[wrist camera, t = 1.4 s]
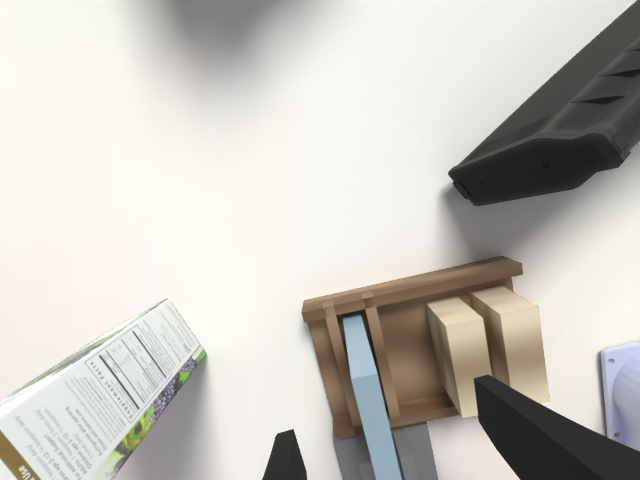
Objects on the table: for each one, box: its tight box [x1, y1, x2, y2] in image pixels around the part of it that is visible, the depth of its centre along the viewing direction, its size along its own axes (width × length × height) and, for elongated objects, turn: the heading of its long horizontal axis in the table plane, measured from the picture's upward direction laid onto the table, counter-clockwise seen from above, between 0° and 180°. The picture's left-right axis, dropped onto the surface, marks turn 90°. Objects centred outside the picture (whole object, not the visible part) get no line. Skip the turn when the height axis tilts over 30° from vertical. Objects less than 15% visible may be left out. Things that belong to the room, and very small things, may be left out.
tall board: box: [342, 311, 402, 480], centre depth 20 cm, size 8×1×8 cm, turn 14°
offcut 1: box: [425, 296, 492, 419], centre depth 22 cm, size 7×2×4 cm, turn 14°
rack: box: [302, 256, 523, 439], centre depth 24 cm, size 11×16×2 cm
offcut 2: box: [470, 286, 550, 403], centre depth 22 cm, size 7×2×4 cm, turn 14°
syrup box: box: [0, 299, 205, 480], centre depth 18 cm, size 6×6×14 cm
